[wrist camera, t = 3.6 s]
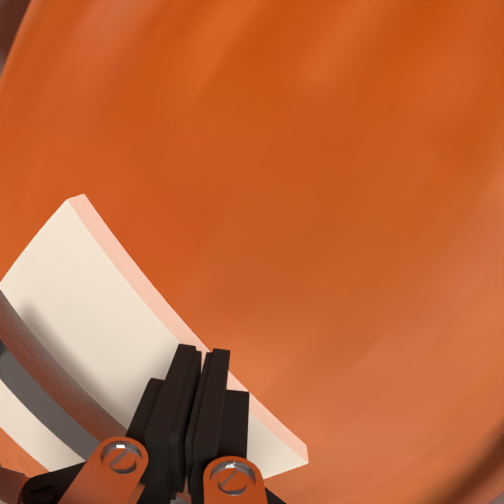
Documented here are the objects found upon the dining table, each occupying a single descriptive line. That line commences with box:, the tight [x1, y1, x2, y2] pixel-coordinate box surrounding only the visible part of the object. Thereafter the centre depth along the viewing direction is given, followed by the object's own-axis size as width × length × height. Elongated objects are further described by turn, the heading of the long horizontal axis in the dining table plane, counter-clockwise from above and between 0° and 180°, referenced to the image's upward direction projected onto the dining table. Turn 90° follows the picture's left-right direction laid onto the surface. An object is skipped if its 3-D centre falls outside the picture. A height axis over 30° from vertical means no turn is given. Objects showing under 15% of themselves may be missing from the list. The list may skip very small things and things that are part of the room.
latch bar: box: [0, 290, 191, 504], centre depth 11 cm, size 16×3×6 cm, turn 35°
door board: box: [0, 194, 308, 479], centre depth 14 cm, size 19×22×6 cm
